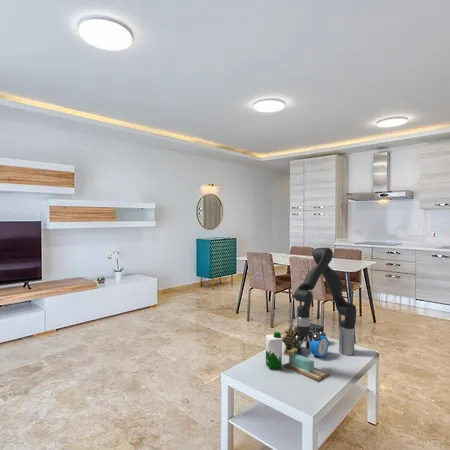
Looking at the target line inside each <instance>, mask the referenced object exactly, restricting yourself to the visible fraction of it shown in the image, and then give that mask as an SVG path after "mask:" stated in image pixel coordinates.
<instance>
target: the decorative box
mask: <svg viewBox="0 0 450 450" xmlns="http://www.w3.org/2000/svg"><path fill="white" fill-rule="evenodd" d="M289 324H290V325H291V326H293V327H294V328H292V327H291V326H290V327H289V328H288V329H287V330H286V331H284V333H285V335H284V336H283V337H281V338H282V343H283V344H284V346H285V348H284V350H283V354H284V355H287V356H289V353H288V350H292V348H297V347H295V346H294V342H295V336H298V332H297V325H294V324H293V323H291V322H289ZM299 342H301V341H300V340H299ZM296 345H297V343H296ZM299 345H300V343H299ZM302 351H303V349H302V347H301V352H302ZM296 354H298V353H297V352H296ZM298 355H299V354H298ZM292 356H293V354H292Z"/></svg>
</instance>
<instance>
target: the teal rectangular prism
mask: <svg viewBox="0 0 450 450" xmlns="http://www.w3.org/2000/svg"><path fill="white" fill-rule="evenodd" d="M292 365H294V366H296V367H298V368H300V369H303V370H305V371H307V372H311V371H312V370H314V367H315V361H314V360H313V359H310V358H307V357H305V356H303V355H301V354H296V355H294V356H292Z"/></svg>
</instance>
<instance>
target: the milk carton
mask: <svg viewBox="0 0 450 450" xmlns="http://www.w3.org/2000/svg"><path fill="white" fill-rule="evenodd" d="M281 334H282V333H281V332H279V331H274V332H273V334H265V364H266V367H267V368H268V369H269V370H270V371H273V370H281V369H282V358H283V356H282V355H283V352H282V348H283V345H282V344H283V341H282V338H283V337H282V335H281Z"/></svg>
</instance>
